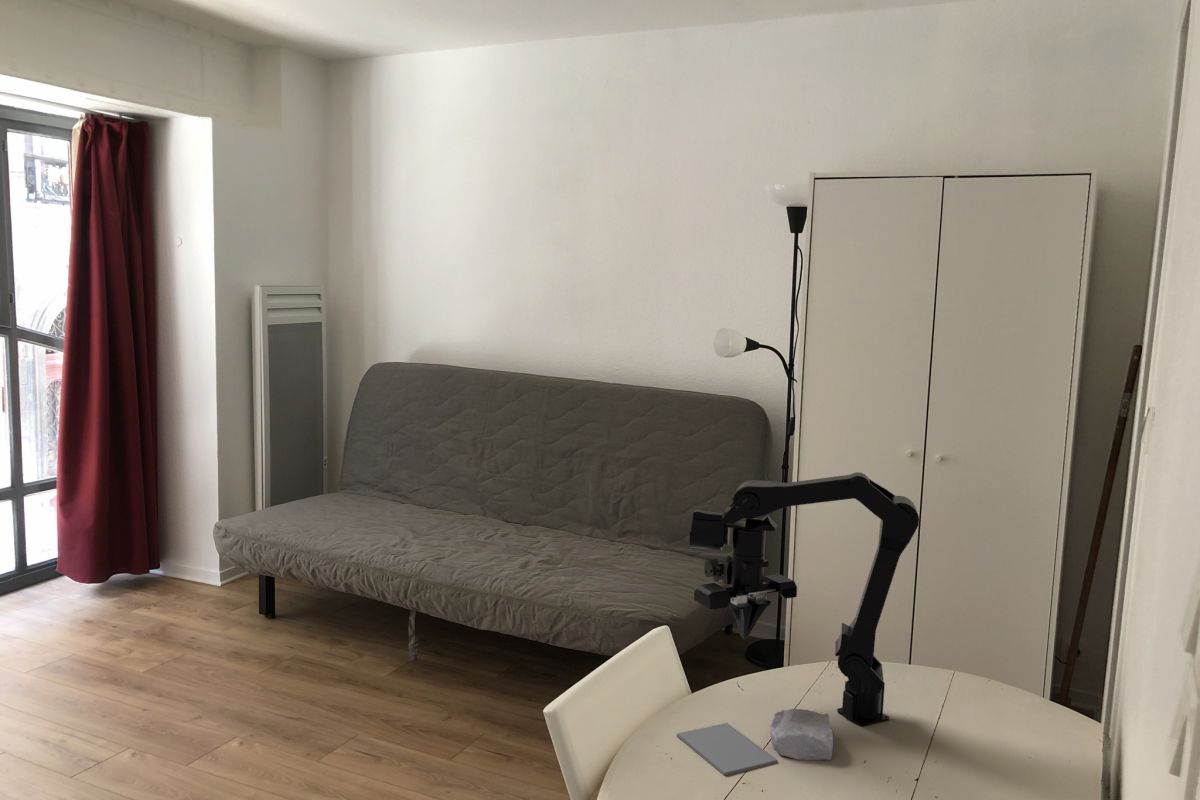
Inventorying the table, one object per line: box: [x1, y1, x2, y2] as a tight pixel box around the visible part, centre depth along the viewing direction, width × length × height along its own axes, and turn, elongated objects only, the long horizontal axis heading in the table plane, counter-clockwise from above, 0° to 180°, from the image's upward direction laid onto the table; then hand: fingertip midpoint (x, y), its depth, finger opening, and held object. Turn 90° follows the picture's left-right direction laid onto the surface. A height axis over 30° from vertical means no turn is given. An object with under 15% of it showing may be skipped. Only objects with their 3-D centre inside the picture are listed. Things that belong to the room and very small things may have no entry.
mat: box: [676, 722, 778, 777], centre depth 153 cm, size 10×14×1 cm
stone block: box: [769, 708, 834, 762], centre depth 156 cm, size 12×5×10 cm
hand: (744, 637), depth 170 cm, fingers closed
